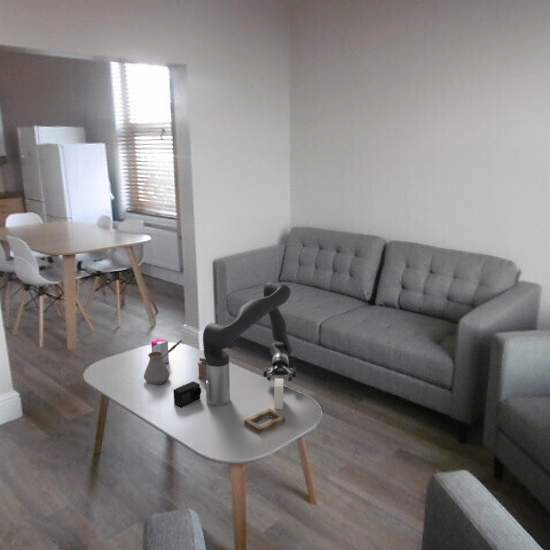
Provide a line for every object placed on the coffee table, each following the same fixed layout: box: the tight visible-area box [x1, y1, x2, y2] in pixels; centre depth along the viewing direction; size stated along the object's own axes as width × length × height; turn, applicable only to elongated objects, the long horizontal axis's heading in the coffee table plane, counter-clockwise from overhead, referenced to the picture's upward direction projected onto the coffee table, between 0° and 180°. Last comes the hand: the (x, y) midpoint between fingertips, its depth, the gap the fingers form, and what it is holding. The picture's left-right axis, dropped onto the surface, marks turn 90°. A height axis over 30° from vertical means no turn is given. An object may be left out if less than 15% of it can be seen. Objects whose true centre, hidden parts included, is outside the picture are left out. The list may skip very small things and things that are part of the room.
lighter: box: [197, 357, 207, 381], centre depth 235 cm, size 8×3×10 cm, turn 74°
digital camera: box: [173, 381, 202, 409], centre depth 215 cm, size 10×5×7 cm, turn 137°
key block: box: [273, 377, 284, 410], centre depth 213 cm, size 4×7×10 cm, turn 178°
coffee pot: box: [143, 339, 184, 386], centre depth 236 cm, size 21×12×15 cm, turn 141°
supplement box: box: [150, 338, 170, 365], centre depth 251 cm, size 6×6×12 cm
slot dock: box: [243, 407, 286, 435], centre depth 200 cm, size 13×9×2 cm
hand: (279, 379), depth 223 cm, fingers open, 8 cm apart
